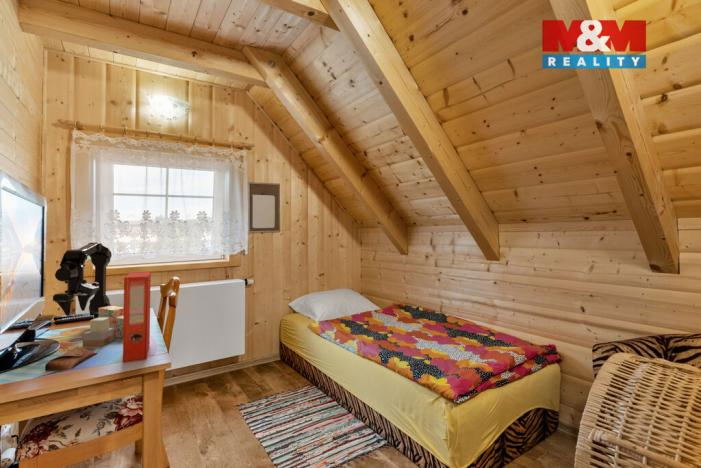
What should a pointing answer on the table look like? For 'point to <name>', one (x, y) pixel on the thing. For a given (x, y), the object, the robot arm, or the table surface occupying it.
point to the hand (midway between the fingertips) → (75, 313)
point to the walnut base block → (98, 341)
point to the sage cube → (99, 324)
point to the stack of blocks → (114, 318)
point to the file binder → (136, 316)
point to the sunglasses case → (69, 359)
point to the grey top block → (98, 335)
